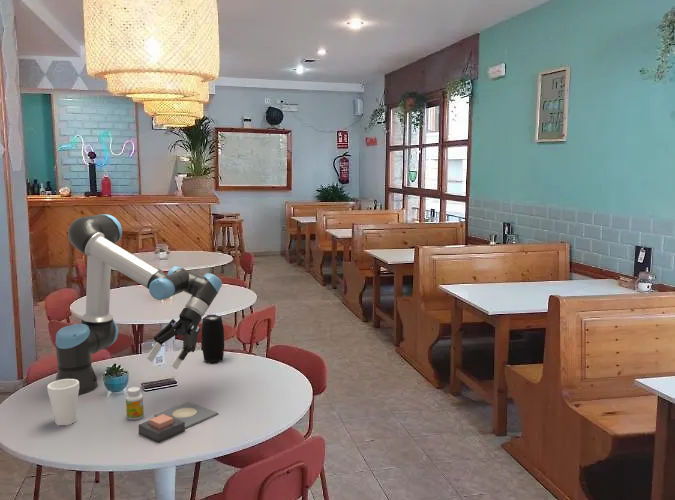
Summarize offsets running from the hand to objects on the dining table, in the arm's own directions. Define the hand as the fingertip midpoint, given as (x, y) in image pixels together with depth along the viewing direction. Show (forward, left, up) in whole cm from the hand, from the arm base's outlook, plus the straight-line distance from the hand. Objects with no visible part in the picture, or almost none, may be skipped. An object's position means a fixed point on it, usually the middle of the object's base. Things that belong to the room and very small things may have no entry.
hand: (161, 363), depth 209 cm
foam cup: (-15, -27, -16) cm, 35 cm away
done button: (+17, -13, -13) cm, 25 cm away
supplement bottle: (0, -11, -16) cm, 19 cm away
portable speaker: (-22, +43, -16) cm, 51 cm away
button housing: (+17, -13, -15) cm, 26 cm away
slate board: (+13, 0, -15) cm, 20 cm away
